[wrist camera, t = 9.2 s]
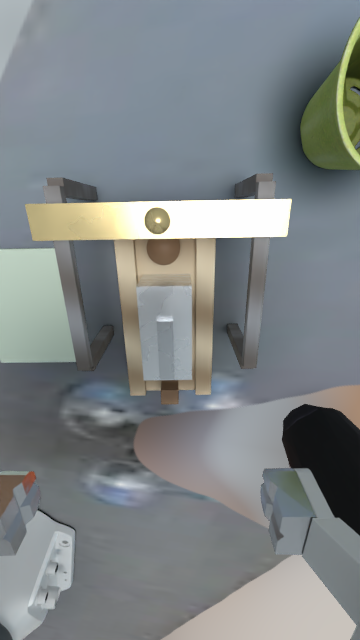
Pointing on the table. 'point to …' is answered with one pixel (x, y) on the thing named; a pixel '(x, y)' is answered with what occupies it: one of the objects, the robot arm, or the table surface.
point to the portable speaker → (327, 456)
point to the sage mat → (32, 308)
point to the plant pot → (336, 114)
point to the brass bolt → (159, 219)
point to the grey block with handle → (165, 326)
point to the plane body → (164, 259)
